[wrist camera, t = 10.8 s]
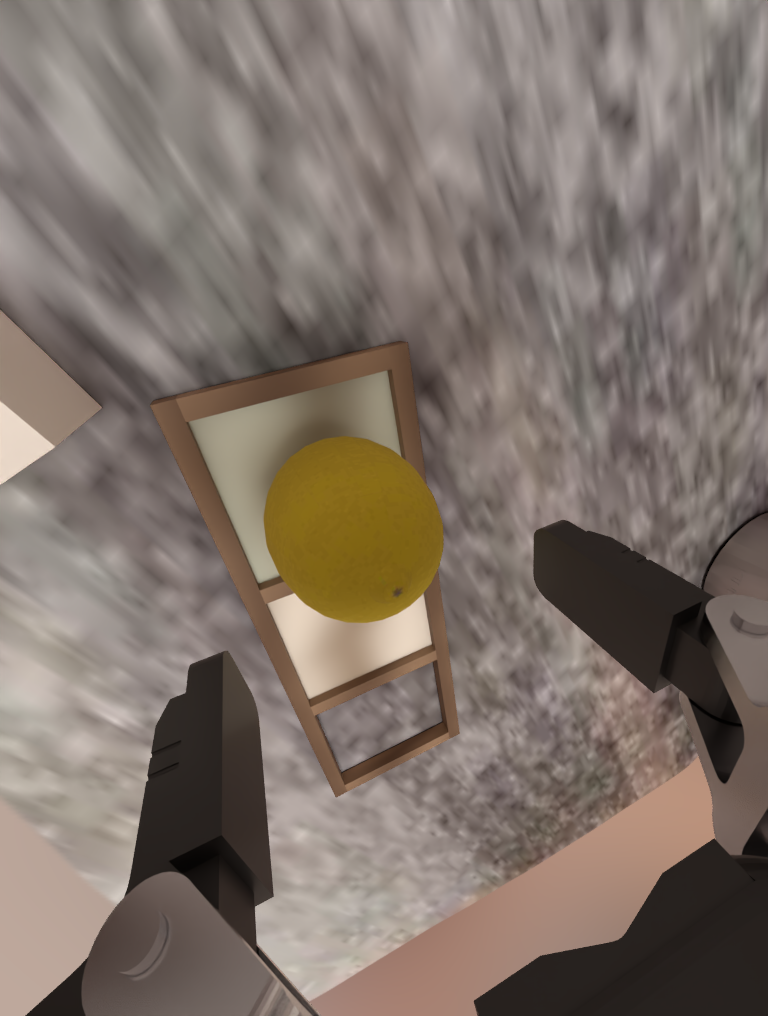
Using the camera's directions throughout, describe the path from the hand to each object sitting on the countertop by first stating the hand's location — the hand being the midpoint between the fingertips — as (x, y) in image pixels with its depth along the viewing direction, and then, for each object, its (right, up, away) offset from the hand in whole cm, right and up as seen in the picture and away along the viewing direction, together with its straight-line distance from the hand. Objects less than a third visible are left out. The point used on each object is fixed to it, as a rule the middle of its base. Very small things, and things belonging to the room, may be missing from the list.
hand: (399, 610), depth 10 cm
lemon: (-3, +4, +7) cm, 8 cm away
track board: (-2, -3, +11) cm, 12 cm away
